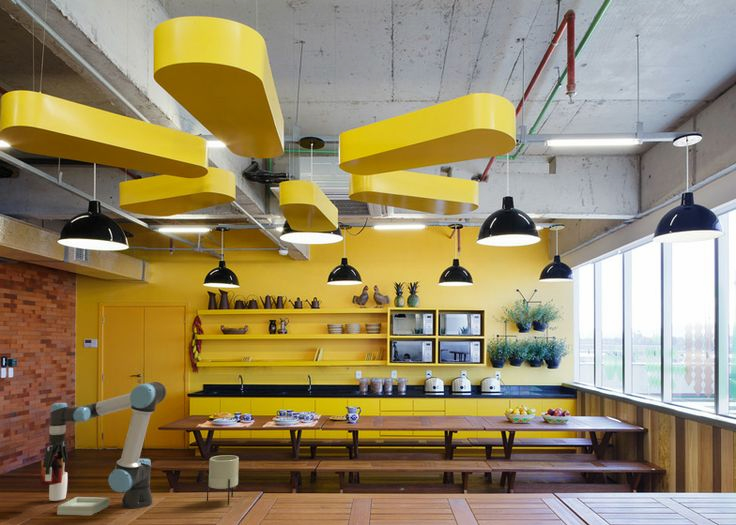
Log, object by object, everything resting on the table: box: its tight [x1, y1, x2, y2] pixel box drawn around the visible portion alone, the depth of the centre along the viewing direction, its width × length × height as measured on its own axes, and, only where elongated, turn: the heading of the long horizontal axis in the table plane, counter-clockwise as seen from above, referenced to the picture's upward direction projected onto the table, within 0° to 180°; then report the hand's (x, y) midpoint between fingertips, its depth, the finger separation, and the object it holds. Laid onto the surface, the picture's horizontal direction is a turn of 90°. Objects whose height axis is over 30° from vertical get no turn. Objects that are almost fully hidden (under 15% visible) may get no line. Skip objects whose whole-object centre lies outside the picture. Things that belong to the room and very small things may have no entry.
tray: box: [56, 496, 110, 516], centre depth 286 cm, size 18×16×4 cm
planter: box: [206, 454, 240, 506], centre depth 302 cm, size 15×16×23 cm
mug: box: [39, 456, 63, 486], centre depth 289 cm, size 10×14×12 cm
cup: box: [48, 471, 69, 502], centre depth 302 cm, size 8×8×14 cm
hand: (54, 478), depth 289 cm, fingers closed on mug, 10 cm apart
